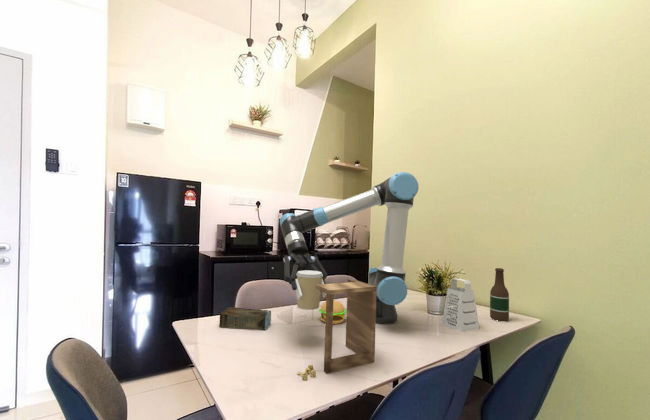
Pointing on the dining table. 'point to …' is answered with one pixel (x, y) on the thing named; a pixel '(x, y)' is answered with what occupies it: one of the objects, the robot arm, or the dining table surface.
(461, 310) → the grater
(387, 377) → the dining table surface
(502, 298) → the beer bottle
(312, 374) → the dice set
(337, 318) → the hamburger
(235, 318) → the beverage carton
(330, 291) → the shelf alcove
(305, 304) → the coffee cup
